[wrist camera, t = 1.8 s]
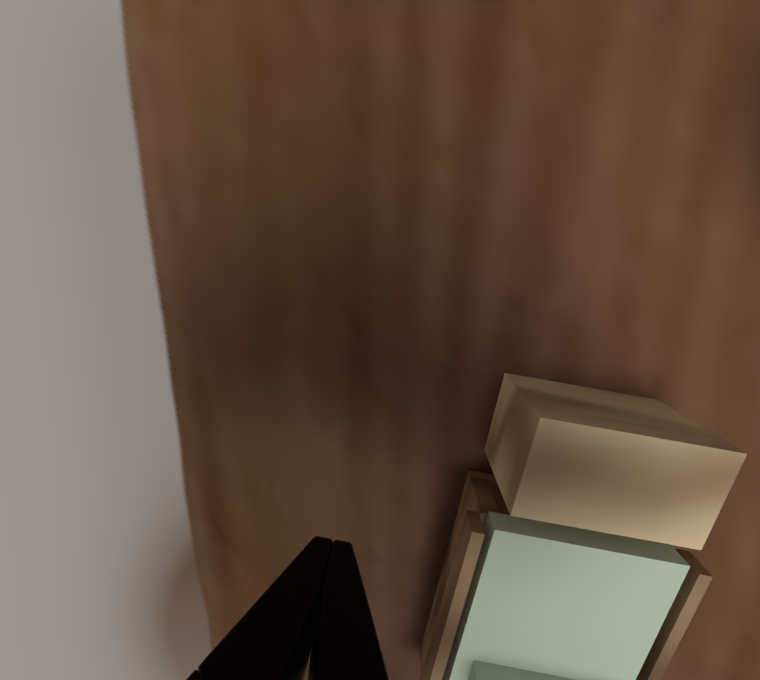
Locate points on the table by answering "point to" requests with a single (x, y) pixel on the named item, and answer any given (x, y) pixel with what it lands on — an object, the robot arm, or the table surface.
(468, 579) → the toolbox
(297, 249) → the table surface
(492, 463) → the block
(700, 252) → the table surface
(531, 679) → the lid
